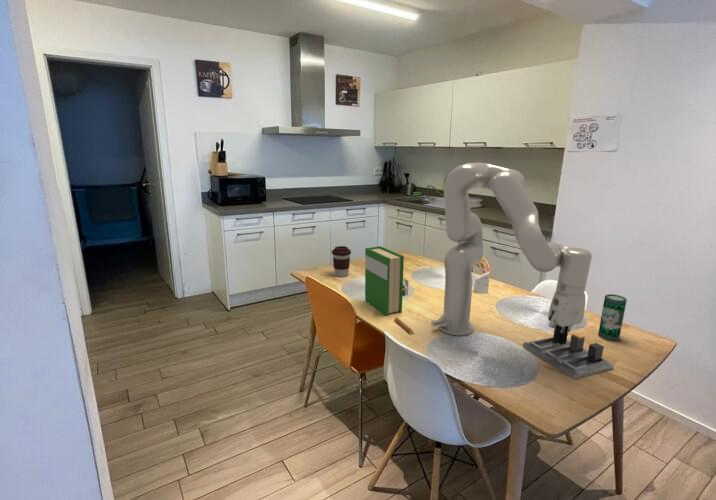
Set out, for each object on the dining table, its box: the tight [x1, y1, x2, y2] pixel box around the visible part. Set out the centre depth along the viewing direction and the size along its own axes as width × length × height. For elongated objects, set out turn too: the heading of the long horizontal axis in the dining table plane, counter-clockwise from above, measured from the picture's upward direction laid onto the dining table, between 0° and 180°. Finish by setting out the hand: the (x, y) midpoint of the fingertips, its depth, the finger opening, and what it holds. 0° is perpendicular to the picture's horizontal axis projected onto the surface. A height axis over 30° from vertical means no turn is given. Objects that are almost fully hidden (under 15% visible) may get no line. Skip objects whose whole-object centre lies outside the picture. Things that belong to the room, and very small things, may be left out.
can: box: [597, 293, 628, 342], centre depth 135 cm, size 6×6×15 cm
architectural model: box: [402, 277, 410, 296], centre depth 177 cm, size 3×7×7 cm, turn 30°
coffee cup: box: [331, 245, 352, 278], centre depth 202 cm, size 10×10×15 cm
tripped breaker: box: [569, 332, 585, 352], centre depth 124 cm, size 3×2×5 cm
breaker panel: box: [522, 328, 615, 380], centre depth 123 cm, size 16×20×7 cm
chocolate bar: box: [393, 316, 415, 335], centre depth 144 cm, size 3×12×2 cm, turn 23°
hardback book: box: [364, 245, 405, 317], centre depth 160 cm, size 18×7×24 cm, turn 28°
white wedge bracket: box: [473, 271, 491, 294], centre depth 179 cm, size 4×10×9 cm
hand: (559, 342), depth 122 cm, fingers closed
